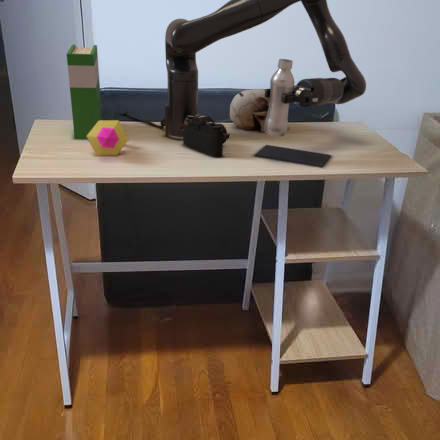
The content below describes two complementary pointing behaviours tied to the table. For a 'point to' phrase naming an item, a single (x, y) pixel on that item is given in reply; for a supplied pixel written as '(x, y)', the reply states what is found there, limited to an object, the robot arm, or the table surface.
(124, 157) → the table surface
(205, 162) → the table surface
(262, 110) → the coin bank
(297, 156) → the mat
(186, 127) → the film camera
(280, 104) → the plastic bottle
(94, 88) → the hardback book
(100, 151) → the toy
